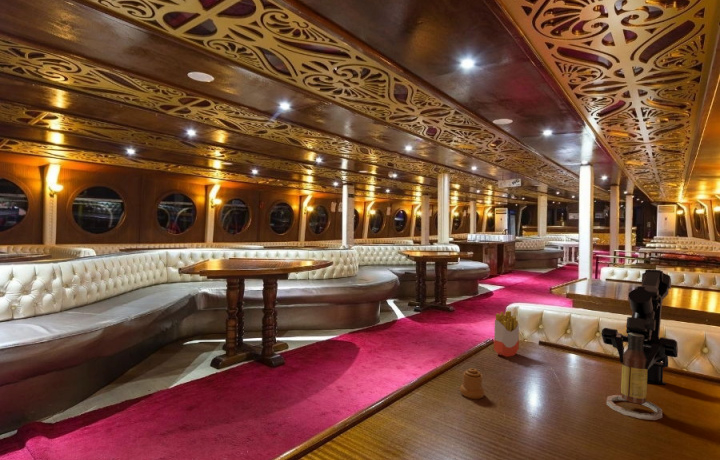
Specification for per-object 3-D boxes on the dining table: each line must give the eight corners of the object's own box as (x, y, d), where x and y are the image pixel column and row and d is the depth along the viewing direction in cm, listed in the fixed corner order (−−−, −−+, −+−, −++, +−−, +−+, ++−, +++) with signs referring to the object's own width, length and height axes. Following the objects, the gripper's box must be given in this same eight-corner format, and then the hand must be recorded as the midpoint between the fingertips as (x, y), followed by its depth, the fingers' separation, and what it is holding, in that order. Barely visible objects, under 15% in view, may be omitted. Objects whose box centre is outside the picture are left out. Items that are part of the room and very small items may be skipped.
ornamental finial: (466, 388, 127) (488, 395, 122) (455, 394, 121) (477, 402, 116) (467, 363, 127) (489, 369, 122) (456, 369, 121) (478, 375, 116)
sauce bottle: (649, 402, 114) (655, 336, 114) (639, 407, 111) (645, 339, 110) (625, 393, 120) (631, 330, 119) (615, 397, 117) (620, 332, 116)
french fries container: (519, 354, 164) (520, 312, 165) (502, 358, 159) (504, 314, 159) (510, 351, 168) (511, 310, 168) (493, 354, 163) (495, 312, 163)
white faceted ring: (643, 400, 121) (643, 397, 121) (673, 421, 108) (673, 417, 108) (598, 397, 122) (598, 393, 122) (622, 417, 109) (622, 413, 109)
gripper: (603, 302, 124) (593, 343, 117) (678, 312, 111) (672, 358, 104) (608, 323, 130) (599, 363, 122) (680, 334, 117) (674, 380, 109)
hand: (633, 365), depth 114 cm, fingers closed on sauce bottle, 6 cm apart
